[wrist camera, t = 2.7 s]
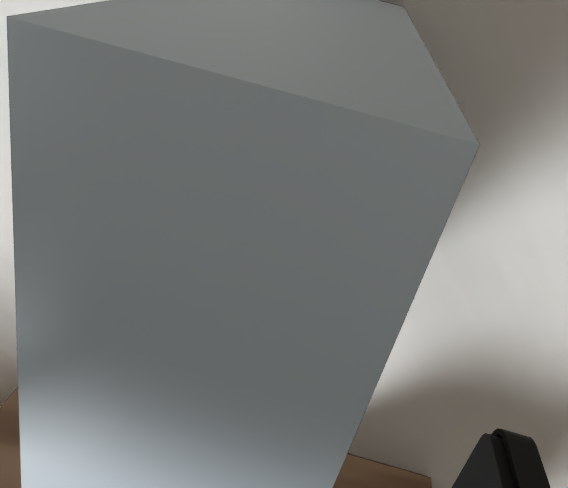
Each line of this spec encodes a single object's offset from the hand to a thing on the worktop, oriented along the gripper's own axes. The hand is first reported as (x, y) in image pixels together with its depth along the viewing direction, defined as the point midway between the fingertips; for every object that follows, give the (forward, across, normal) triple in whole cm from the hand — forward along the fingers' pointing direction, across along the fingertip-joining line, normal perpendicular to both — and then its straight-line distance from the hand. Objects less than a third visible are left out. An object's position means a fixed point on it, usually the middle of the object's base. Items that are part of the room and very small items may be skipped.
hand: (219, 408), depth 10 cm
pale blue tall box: (+11, 0, -1) cm, 11 cm away
